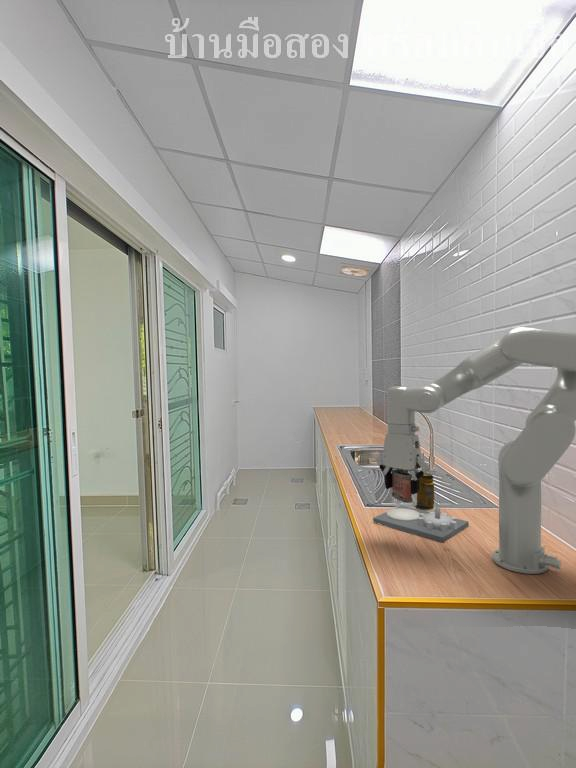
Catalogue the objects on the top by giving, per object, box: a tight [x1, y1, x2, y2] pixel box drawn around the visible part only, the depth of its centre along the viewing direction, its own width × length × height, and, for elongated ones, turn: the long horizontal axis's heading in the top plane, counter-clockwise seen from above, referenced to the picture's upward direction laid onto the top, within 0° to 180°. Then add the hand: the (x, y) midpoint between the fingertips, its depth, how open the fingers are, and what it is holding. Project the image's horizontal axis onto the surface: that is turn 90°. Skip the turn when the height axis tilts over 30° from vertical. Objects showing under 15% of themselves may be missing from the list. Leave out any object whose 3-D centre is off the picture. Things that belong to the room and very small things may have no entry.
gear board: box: [372, 505, 470, 543], centre depth 137 cm, size 24×18×6 cm
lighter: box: [391, 469, 413, 504], centre depth 121 cm, size 8×3×10 cm, turn 18°
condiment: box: [413, 472, 437, 512], centre depth 154 cm, size 7×8×12 cm
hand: (401, 490), depth 121 cm, fingers closed on lighter, 7 cm apart
